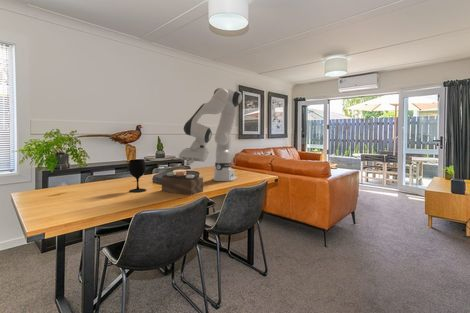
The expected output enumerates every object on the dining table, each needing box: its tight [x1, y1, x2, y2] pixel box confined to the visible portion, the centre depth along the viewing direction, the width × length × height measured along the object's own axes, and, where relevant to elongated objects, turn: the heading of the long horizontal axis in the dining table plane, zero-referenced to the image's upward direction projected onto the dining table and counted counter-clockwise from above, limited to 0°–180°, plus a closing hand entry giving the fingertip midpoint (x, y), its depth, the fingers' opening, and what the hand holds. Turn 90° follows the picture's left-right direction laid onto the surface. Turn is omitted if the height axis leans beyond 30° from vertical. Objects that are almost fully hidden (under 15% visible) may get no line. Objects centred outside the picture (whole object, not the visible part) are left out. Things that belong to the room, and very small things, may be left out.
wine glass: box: [128, 158, 147, 194], centre depth 168 cm, size 10×10×20 cm
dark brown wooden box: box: [161, 174, 204, 196], centre depth 168 cm, size 12×24×10 cm, turn 61°
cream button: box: [185, 174, 195, 179], centre depth 162 cm, size 5×5×2 cm
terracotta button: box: [175, 171, 185, 176], centre depth 166 cm, size 5×5×2 cm
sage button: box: [166, 172, 176, 176], centre depth 170 cm, size 5×5×2 cm
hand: (187, 164), depth 170 cm, fingers closed
